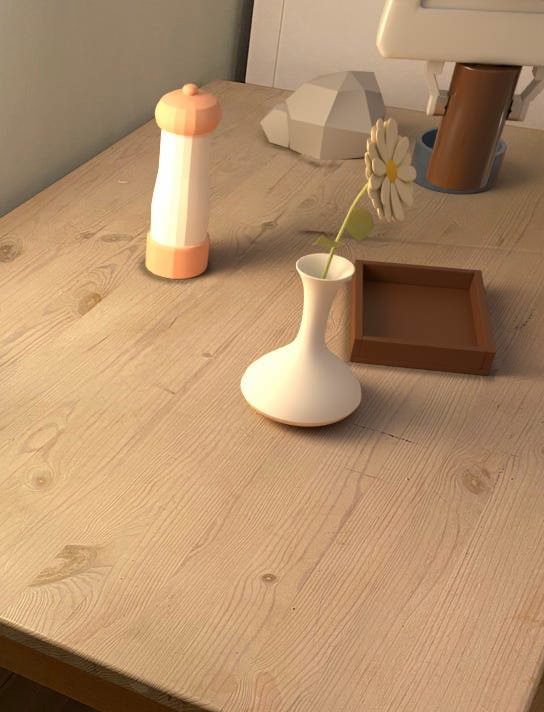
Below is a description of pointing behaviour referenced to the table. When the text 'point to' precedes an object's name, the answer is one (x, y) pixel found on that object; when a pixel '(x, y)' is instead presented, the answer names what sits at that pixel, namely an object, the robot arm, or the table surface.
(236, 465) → the table surface
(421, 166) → the bowl
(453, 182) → the bottle
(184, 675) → the table surface
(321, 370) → the flower in vase
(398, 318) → the tray
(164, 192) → the pepper shaker
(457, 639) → the table surface
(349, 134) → the rock
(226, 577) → the table surface
